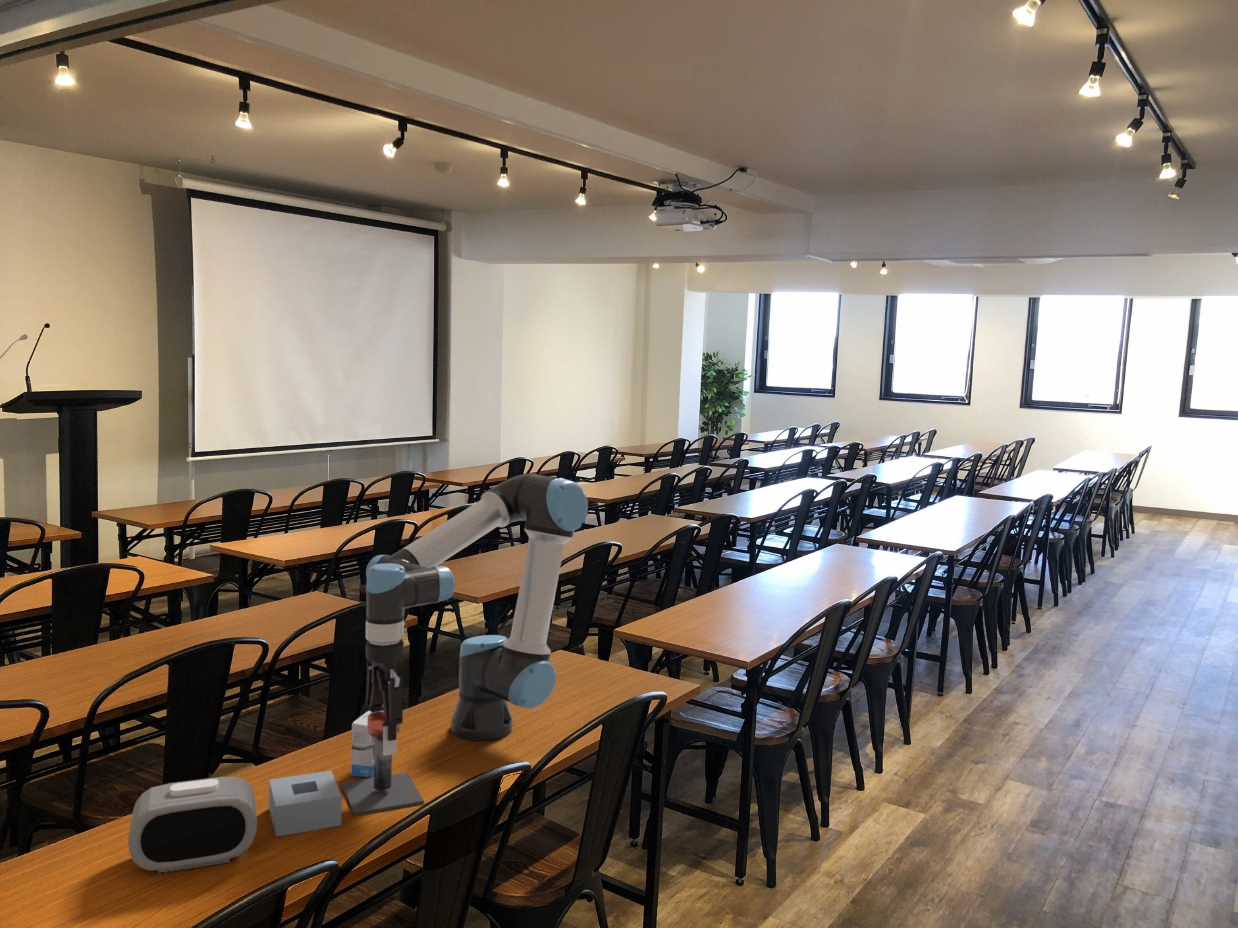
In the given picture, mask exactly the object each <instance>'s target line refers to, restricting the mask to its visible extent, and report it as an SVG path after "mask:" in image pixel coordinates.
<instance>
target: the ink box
mask: <svg viewBox="0 0 1238 928" xmlns="http://www.w3.org/2000/svg"><path fill="white" fill-rule="evenodd" d="M370 713H371V711H369V710H368V711H366V712H365V713H363V714H362V715H360V716H359V717H358V718H357V719H355V720H354V721H353V722H352V724H351V765H350V767H351V771H350V773H351V774H350V775H351V776H353V777H354V776H355V777H360V778H361V777H362V778H367V779H369V778H373V777H374V743H372V744H371V743H370V735H369V734H368V733H367V721H368V716H369V714H370Z"/></svg>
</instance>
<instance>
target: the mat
mask: <svg viewBox="0 0 1238 928" xmlns="http://www.w3.org/2000/svg"><path fill="white" fill-rule="evenodd" d="M341 787H342V789H343V791H344V792H343V793H344V794H345V797H346V800H347V803H349V806H350V809H351V811H352V814H353V816H361V815H365V814H370V813H377V812H382V811H389V810H395V809H400V808H406V807H411V806H417V805H423V804H425V800H424V799H423V797H422V795H421V793H420V792H419V790H418V788H417V787H416V785H415V783H414V780H413V779H412V778H411V776H410V774H409V772H402V773H397V774H396V773H395V774H391V787H390V788H389V789H387V790H376V789H374V777H371V778H365V779H363V778H362V779H359V780H352V781H351V780H350V781H346V782H345V781H344V782H341Z"/></svg>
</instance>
